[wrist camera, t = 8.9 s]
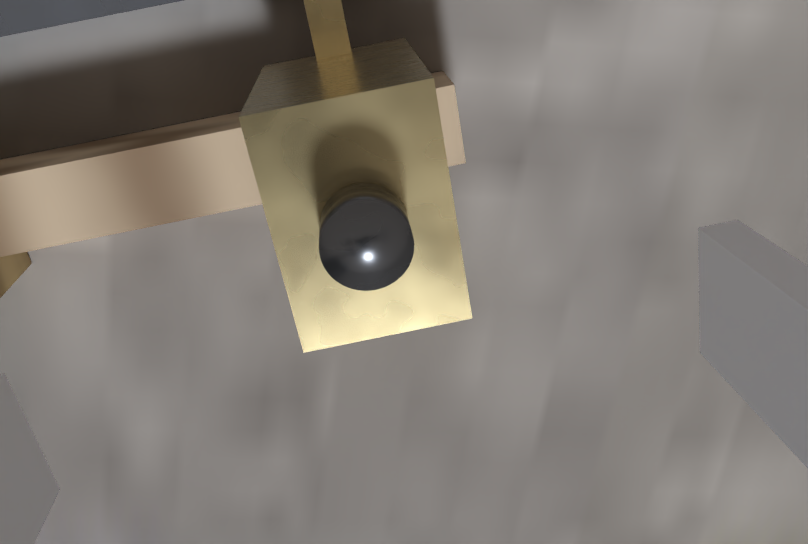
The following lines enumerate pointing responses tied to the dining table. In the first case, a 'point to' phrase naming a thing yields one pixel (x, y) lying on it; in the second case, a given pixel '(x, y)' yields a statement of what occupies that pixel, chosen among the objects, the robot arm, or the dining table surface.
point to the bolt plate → (61, 12)
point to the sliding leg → (356, 187)
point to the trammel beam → (142, 182)
